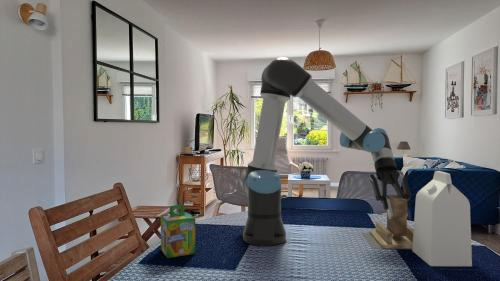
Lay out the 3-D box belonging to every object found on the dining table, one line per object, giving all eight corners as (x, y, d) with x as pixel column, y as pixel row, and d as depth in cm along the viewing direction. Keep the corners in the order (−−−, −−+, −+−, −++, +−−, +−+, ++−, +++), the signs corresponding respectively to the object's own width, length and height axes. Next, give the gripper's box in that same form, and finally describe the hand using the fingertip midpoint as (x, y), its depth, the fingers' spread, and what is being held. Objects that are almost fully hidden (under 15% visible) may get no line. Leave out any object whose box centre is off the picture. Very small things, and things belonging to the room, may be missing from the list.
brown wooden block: (394, 236, 118) (394, 200, 117) (386, 228, 126) (387, 195, 125) (406, 236, 117) (407, 200, 117) (398, 228, 125) (398, 195, 125)
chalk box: (167, 259, 107) (166, 210, 106) (160, 249, 115) (159, 204, 114) (196, 254, 111) (196, 207, 111) (187, 245, 119) (187, 201, 119)
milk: (472, 267, 100) (474, 175, 99) (430, 267, 100) (432, 175, 99) (449, 251, 112) (451, 169, 111) (412, 251, 112) (413, 169, 111)
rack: (381, 247, 115) (381, 234, 114) (369, 233, 130) (369, 221, 129) (426, 248, 114) (426, 234, 113) (409, 234, 129) (409, 221, 128)
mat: (372, 249, 114) (372, 248, 114) (360, 233, 130) (360, 232, 130) (436, 250, 113) (436, 249, 113) (417, 234, 129) (417, 233, 129)
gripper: (404, 168, 137) (421, 223, 122) (359, 168, 138) (370, 222, 123) (410, 156, 132) (428, 211, 116) (363, 156, 133) (374, 211, 117)
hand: (398, 217), depth 119 cm, fingers closed on brown wooden block, 4 cm apart
